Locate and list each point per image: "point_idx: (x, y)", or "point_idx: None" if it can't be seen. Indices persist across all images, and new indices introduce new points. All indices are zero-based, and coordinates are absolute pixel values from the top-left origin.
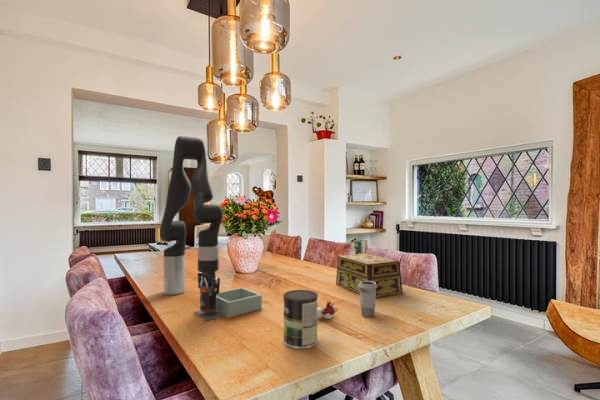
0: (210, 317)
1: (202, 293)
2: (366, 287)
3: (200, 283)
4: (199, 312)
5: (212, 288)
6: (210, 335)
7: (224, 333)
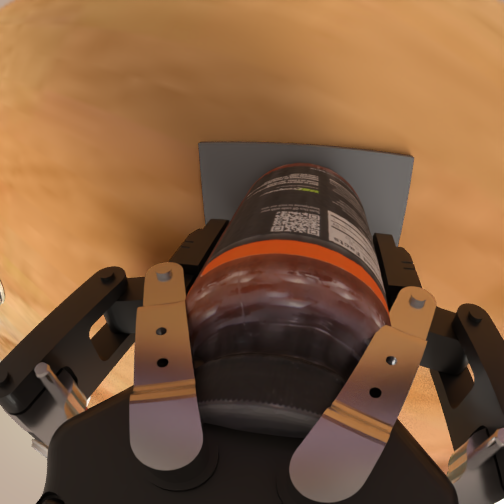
0: (224, 180)
1: (251, 232)
2: (32, 441)
3: (418, 356)
4: (373, 177)
5: (67, 311)
6: (40, 97)
7: (35, 152)
